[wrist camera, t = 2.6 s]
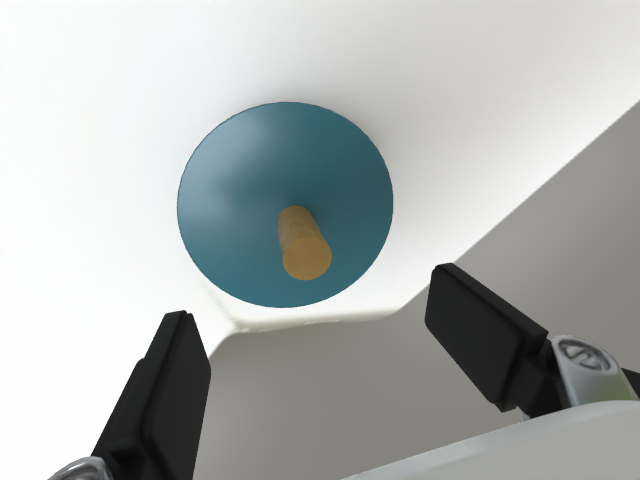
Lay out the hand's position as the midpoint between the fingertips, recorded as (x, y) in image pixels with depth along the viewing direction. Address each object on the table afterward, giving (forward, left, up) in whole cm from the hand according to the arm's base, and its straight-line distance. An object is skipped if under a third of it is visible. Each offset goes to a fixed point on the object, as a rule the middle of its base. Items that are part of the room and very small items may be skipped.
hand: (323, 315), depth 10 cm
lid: (0, 0, -10) cm, 10 cm away
